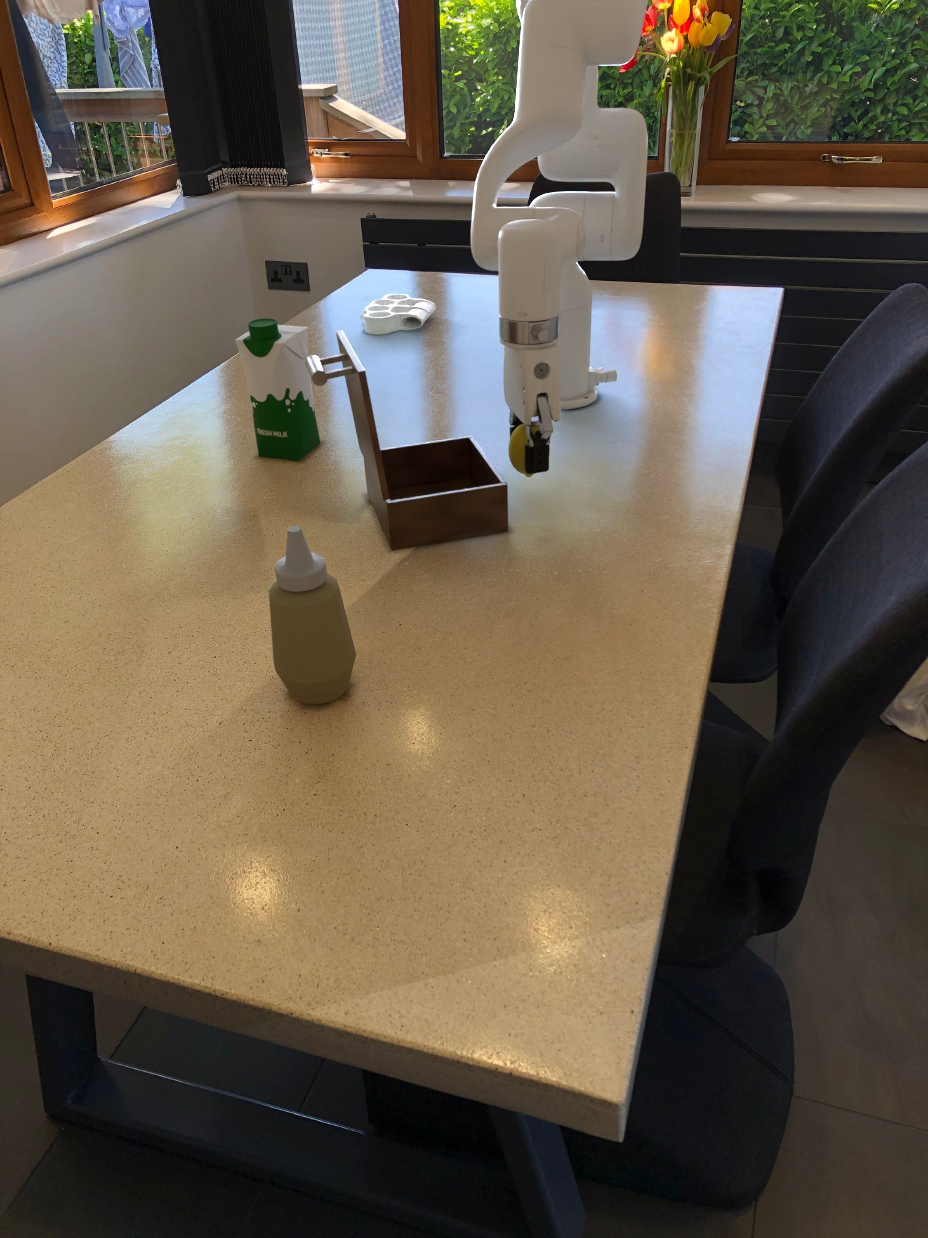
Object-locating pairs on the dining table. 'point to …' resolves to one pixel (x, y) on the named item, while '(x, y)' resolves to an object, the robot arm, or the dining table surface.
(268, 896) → the dining table surface
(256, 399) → the milk carton
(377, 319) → the white multi-hole holder
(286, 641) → the squeeze bottle
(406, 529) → the box
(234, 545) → the dining table surface
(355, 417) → the lid
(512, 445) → the lemon
